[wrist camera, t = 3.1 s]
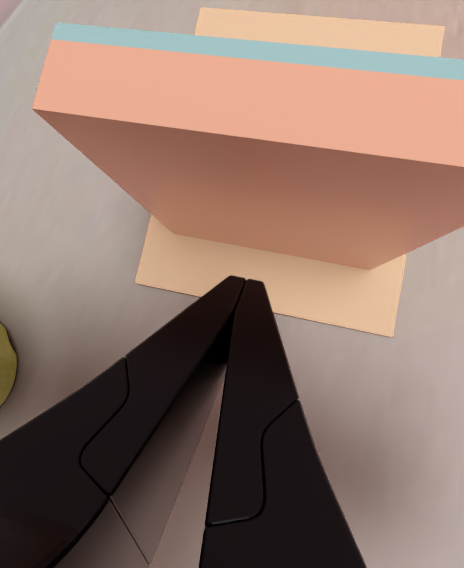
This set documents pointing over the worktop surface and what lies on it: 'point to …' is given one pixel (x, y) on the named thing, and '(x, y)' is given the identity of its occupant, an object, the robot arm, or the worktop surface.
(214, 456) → the robot arm
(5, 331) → the plant pot
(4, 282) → the worktop surface
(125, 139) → the tile
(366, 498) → the worktop surface
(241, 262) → the cork mat
